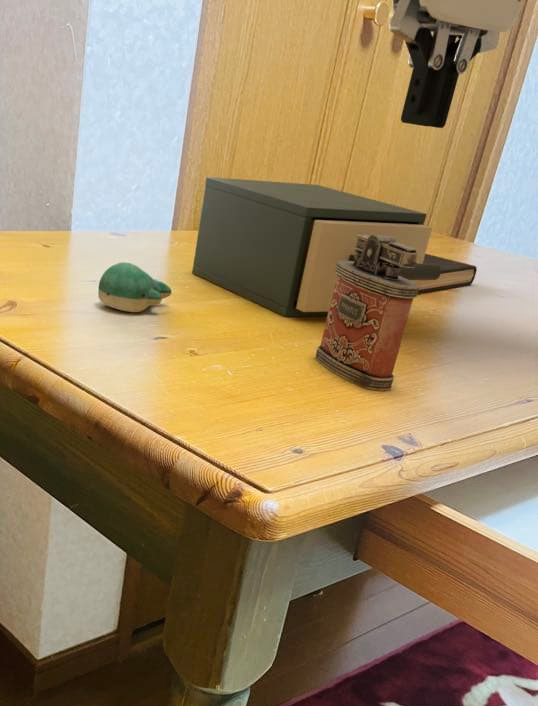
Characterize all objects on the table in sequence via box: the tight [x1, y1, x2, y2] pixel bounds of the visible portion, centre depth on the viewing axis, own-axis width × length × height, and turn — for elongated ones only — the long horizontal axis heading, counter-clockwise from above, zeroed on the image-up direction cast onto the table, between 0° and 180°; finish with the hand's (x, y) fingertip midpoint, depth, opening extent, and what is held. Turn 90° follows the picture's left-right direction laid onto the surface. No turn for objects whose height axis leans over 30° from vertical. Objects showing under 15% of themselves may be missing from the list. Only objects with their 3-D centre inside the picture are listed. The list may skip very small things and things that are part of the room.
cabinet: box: [191, 176, 427, 318], centre depth 85 cm, size 17×15×10 cm
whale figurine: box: [97, 262, 172, 313], centre depth 74 cm, size 6×7×4 cm
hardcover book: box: [417, 253, 478, 295], centre depth 105 cm, size 16×23×2 cm
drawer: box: [295, 217, 441, 312], centre depth 81 cm, size 21×13×8 cm, turn 28°
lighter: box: [314, 235, 419, 391], centre depth 62 cm, size 8×3×10 cm, turn 22°
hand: (422, 124), depth 70 cm, fingers closed
